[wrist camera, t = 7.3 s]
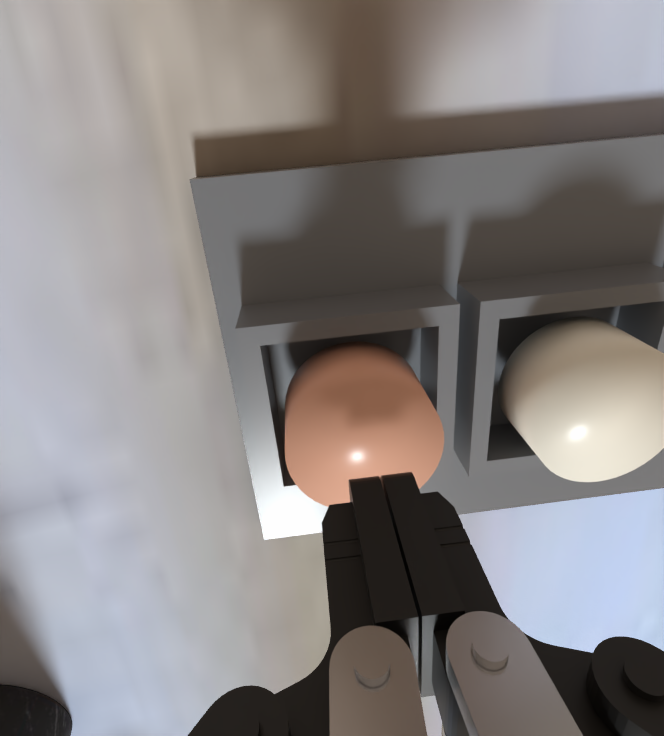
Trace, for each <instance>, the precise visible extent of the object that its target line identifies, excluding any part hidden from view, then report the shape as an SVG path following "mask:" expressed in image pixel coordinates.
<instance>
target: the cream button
mask: <svg viewBox="0 0 664 736" xmlns="http://www.w3.org/2000/svg"><path fill="white" fill-rule="evenodd" d="M498 397H499V403H500V406H501V409H502V411H503V413H504V415H505V416H506V418H507V419H508V420H509V421H510V423H511V424H512V425H513V426H514V428H515V429H516V430H517V431H518V433H519V434H520V435H521V436H522V438H523V439H524V440H525V441H526V443H527V444H528V445H529V446H530V447H531V449H532V450H533V451H534V452H535V454H536V455H537V456H538V457H539V459H540V460H541V461H542V462H543V464H544V465H545V466H546V467H547V468H548V469H549V470H550V471H551V472H553V473H554V474H556V475H558V476H560V477H562V478H564V479H568V480H571V481H577V482H598V481H604V480H609V479H612V478H616V477H619V476H621V475H624V474H626V473H628V472H631V471H633V470H635V469H636V468H638V467H640V466H642V465H643V464H645V463H646V462H648V461H649V460H650V459H652V458H653V457H654V456H656V455H657V454H658V453H659V452H660V451H661V450H662V449H663V448H664V353H662V352H660V351H658V350H657V349H655V348H653V347H651V346H649V345H648V344H646V343H644V342H642V341H640V340H639V339H637V338H635V337H633V336H631V335H630V334H628V333H626V332H624V331H622V330H621V329H619V328H617V327H615V326H613V325H611V324H610V323H608V322H606V321H603V320H601V319H598V318H594V317H586V316H578V317H569V318H564V319H561V320H557V321H554V322H552V323H550V324H547V325H545V326H543V327H542V328H540V329H538V330H537V331H535V332H534V333H532V334H531V335H529V336H528V337H527V338H526V339H525V340H524V341H522V343H521V344H520V345H519V346H518V347H517V348H516V349H515V350H514V352H513V353H512V354H511V356H510V357H509V359H508V360H507V362H506V364H505V366H504V368H503V370H502V373H501V376H500V380H499V386H498Z"/></svg>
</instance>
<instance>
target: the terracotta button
mask: <svg viewBox="0 0 664 736" xmlns="http://www.w3.org/2000/svg"><path fill="white" fill-rule="evenodd" d="M443 448H444V431H443V426H442V423H441V420H440V417H439V415H438V413H437V412H436V410H435V408H434V406H433V405H432V403H431V401H430V399H429V397H428V396H427V394H426V392H425V390H424V388H423V387H422V385H421V383H420V381H419V380H418V378H417V376H416V374H415V373H414V371H413V369H412V367H411V366H410V365H409V364H408V362H407V361H406V360H405V359H404V358H403V357H401V356H400V355H399V354H398V353H396V352H395V351H393V350H391V349H389V348H387V347H385V346H382V345H379V344H375V343H370V342H361V341H355V342H345V343H339V344H336V345H333V346H330V347H327V348H325V349H323V350H321V351H319V352H318V353H316V354H314V355H313V356H311V357H310V358H309V359H308V360H306V361H305V362H304V363H303V364H302V365H301V366H300V368H299V369H298V370H297V371H296V373H295V374H294V376H293V378H292V379H291V381H290V384H289V386H288V389H287V393H286V399H285V461H286V465H287V469H288V471H289V474H290V476H291V478H292V479H293V481H294V483H295V484H296V485H297V486H298V488H299V489H300V490H301V491H302V492H303V493H304V494H306V495H307V496H308V497H309V498H311V499H312V500H314V501H316V502H318V503H320V504H322V505H324V506H327V507H329V505H332V504H340V503H349V502H350V495H349V479H357V478H365V477H373V476H379V477H381V475H389V474H397V473H405V472H412V473H413V475H414V477H415V480H416V483H417V485H418V488H419V489H420V488H421V487H422V486H423V485H424V484H425V483H426V482H427V481H428V480H429V478H430V477H431V476H432V474H433V473H434V471H435V470H436V468H437V466H438V464H439V462H440V459H441V456H442V453H443Z"/></svg>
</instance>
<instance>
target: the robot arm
mask: <svg viewBox="0 0 664 736" xmlns="http://www.w3.org/2000/svg"><path fill="white" fill-rule="evenodd" d="M349 495H350V502H349V503H340V504H332V505H329V507H328V509H327V511H326V514H325V516H324V519H323V521H322V532H323V543H324V555H325V567H326V578H327V590H328V601H329V613H330V624H331V638H330V644H329V647H328V650H327V652H326V655H325V657H324V658H323V660H322V661H321V663H320V664H319V666H318V667H317V668H316V669H315V670H314V671H313V672H312V673H311V674H310V675H308V676H307V677H306V678H304V679H302V680H301V681H299V682H297V683H295V684H293V685H292V686H290V687H288V688H286V689H284V690H282V691H280V692H278V693H276V694H273V693H272V692H271V691H269V690H267V689H265V688H262V687H259V686H243V687H239V688H235V689H233V690H231V691H229V692H227V693H226V694H224V695H223V696H221V697H220V698H219V699H218V700H216V701H215V702H214V703H213V704H212V706H211V707H210V708H209V709H208V710H207V711H206V713H205V714H204V715H203V717H202V718H201V719H200V721H199V722H198V723H197V724H196V726H195V727H194V728H193V730H192V731H191V732H190V733H189V735H188V736H427V732H426V726H425V720H424V714H423V708H422V702H421V697H426V696H433V695H435V696H436V700H437V704H438V708H439V711H440V715H441V719H442V736H664V651H662V650H660V649H659V648H657V647H655V646H653V645H651V644H649V643H647V642H644V641H642V640H638V639H635V638H630V637H612V638H608V639H606V640H604V641H602V642H601V643H600V644H598V646H597V647H596V648H595V650H594V653H590V652H584V651H579V650H574V649H569V648H564V647H558V646H553V645H550V644H546V643H543V642H540V641H538V640H536V639H534V638H532V637H530V636H528V635H527V634H525V633H524V632H522V631H521V630H520V628H518V627H517V626H516V625H515V624H514V623H512V622H511V621H510V620H509V619H508V618H507V617H506V615H505V614H504V612H503V611H502V609H501V607H500V605H499V603H498V601H497V599H496V597H495V595H494V592H493V590H492V588H491V586H490V584H489V581H488V579H487V577H486V575H485V573H484V571H483V568H482V566H481V564H480V562H479V560H478V558H477V555H476V553H475V551H474V549H473V547H472V545H470V540H469V538H468V536H467V534H466V532H465V529H463V525H462V523H461V521H460V518H459V516H458V514H457V512H456V510H455V508H454V506H453V505H452V504H451V503H450V502H449V501H448V500H446V499H445V498H444V497H443V496H442V495H441V494H440V493H439V492H438V491H437V492H429V493H420V490H419V488H418V485H417V483H416V480H415V477H414V475H413V473H412V472H405V473H397V474H389V475H381V477H379V476H373V477H365V478H357V479H349ZM420 694H421V696H420Z"/></svg>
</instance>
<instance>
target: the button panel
mask: <svg viewBox="0 0 664 736" xmlns="http://www.w3.org/2000/svg"><path fill="white" fill-rule="evenodd" d="M190 183H191V188H192V193H193V198H194V203H195V208H196V212H197V217H198V222H199V227H200V232H201V237H202V241H203V246H204V251H205V256H206V261H207V266H208V270H209V275H210V280H211V285H212V290H213V295H214V299H215V304H216V309H217V314H218V319H219V324H220V328H221V333H222V338H223V343H224V348H225V353H226V357H227V362H228V367H229V372H230V377H231V382H232V386H233V391H234V396H235V401H236V406H237V411H238V415H239V420H240V425H241V430H242V435H243V440H244V444H245V449H246V454H247V459H248V464H249V469H250V473H251V478H252V483H253V488H254V493H255V498H256V502H257V507H258V512H259V517H260V522H261V527H262V531H263V536H264V540H266V539H274V538H282V537H289V536H297V535H305V534H312V533H320V532H322V521H323V519H324V516H325V514H326V511H327V509H328V507H327V506H324V505H322V504H320V503H318V502H316V501H314V500H312V499H311V498H309V497H308V496H307V495H306V494H304V493H303V492H302V491H301V490H300V489H299V488H298V486H297V485H296V484H295V483H294V481H293V479H292V478H291V476H290V474H289V471H288V469H287V465H286V461H285V399H286V393H287V389H288V386H289V384H290V381H291V379H292V378H293V376H294V374H295V373H296V371H297V370H298V369H299V368H300V366H301V365H302V364H303V363H304V362H305V361H306V360H308V359H309V358H310V357H311V356H313V355H314V354H316V353H318V352H319V351H321V350H323V349H325V348H327V347H330V346H333V345H336V344H339V343H345V342H355V341H361V342H370V343H375V344H379V345H382V346H385V347H387V348H389V349H391V350H393V351H395V352H396V353H398V354H399V355H400V356H401V357H403V358H404V359H405V360H406V361H407V362H408V364H409V365H410V366H411V367H412V369H413V371H414V373H415V374H416V376H417V378H418V380H419V381H420V383H421V385H422V387H423V388H424V390H425V392H426V394H427V396H428V397H429V399H430V401H431V403H432V405H433V406H434V408H435V410H436V412H437V413H438V415H439V417H440V420H441V423H442V426H443V431H444V448H443V453H442V456H441V459H440V462H439V464H438V466H437V468H436V470H435V471H434V473H433V474H432V476H431V477H430V478H429V480H428V481H427V482H426V483H425V484H424V485H423V486H422V487H421V488H420V489H419V490H420V493H429V492H437V491H438V492H439V493H440V494H441V495H442V496H443V497H444V498H445V499H446V500H448V501H449V502H450V503H451V504H452V505H453V506H454V508H455V510H456V512H457V514H458V515H459V514H467V513H474V512H482V511H490V510H497V509H505V508H513V507H520V506H528V505H536V504H544V503H551V502H559V501H567V500H574V499H582V498H590V497H597V496H605V495H613V494H621V493H628V492H636V491H644V490H651V489H659V488H664V448H663V449H662V450H661V451H660V452H659V453H658V454H657V455H656V456H654V457H653V458H652V459H650V460H649V461H648V462H646V463H645V464H643V465H642V466H640V467H638V468H636V469H635V470H633V471H631V472H628V473H626V474H624V475H621V476H619V477H616V478H612V479H609V480H604V481H598V482H577V481H571V480H568V479H564V478H562V477H560V476H558V475H556V474H554V473H553V472H551V471H550V470H549V469H548V468H547V467H546V466H545V465H544V464H543V462H542V461H541V460H540V459H539V457H538V456H537V455H536V454H535V452H534V451H533V450H532V449H531V447H530V446H529V445H528V444H527V443H526V441H525V440H524V439H523V438H522V436H521V435H520V434H519V433H518V431H517V430H516V429H515V428H514V426H513V425H512V424H511V423H510V421H509V420H508V419H507V418H506V416H505V415H504V413H503V411H502V409H501V406H500V403H499V397H498V386H499V380H500V376H501V373H502V370H503V368H504V366H505V364H506V362H507V360H508V359H509V357H510V356H511V354H512V353H513V352H514V350H515V349H516V348H517V347H518V346H519V345H520V344H521V343H522V341H524V340H525V339H526V338H527V337H528V336H529V335H531V334H532V333H534V332H535V331H537V330H538V329H540V328H542V327H543V326H545V325H547V324H550V323H552V322H554V321H557V320H561V319H564V318H569V317H578V316H586V317H594V318H598V319H601V320H603V321H606V322H608V323H610V324H611V325H613V326H615V327H617V328H619V329H621V330H622V331H624V332H626V333H628V334H630V335H631V336H633V337H635V338H637V339H639V340H640V341H642V342H644V343H646V344H648V345H649V346H651V347H653V348H655V349H657V350H658V351H660V352H662V353H664V133H662V134H651V135H640V136H630V137H619V138H608V139H598V140H587V141H577V142H566V143H555V144H545V145H534V146H524V147H513V148H502V149H492V150H481V151H471V152H460V153H449V154H439V155H428V156H417V157H407V158H396V159H386V160H375V161H364V162H354V163H343V164H333V165H322V166H311V167H301V168H290V169H280V170H269V171H258V172H248V173H237V174H226V175H216V176H205V177H196V178H193V179H190Z"/></svg>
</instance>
